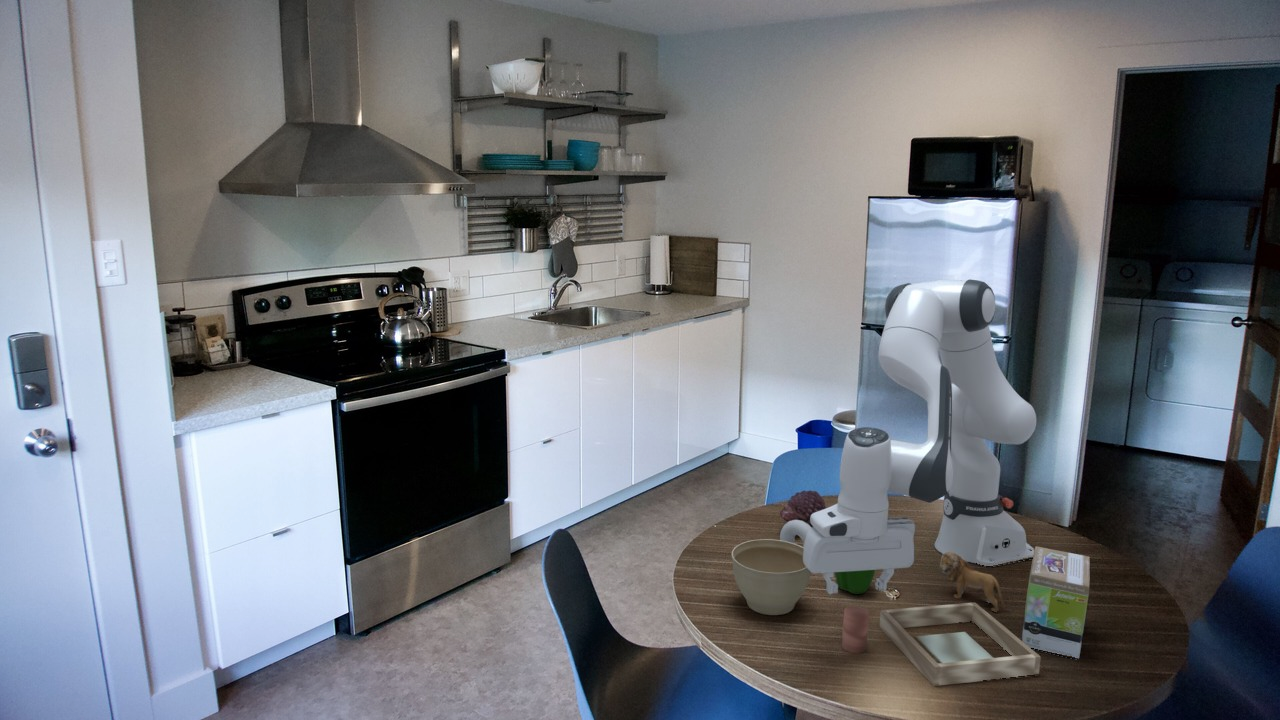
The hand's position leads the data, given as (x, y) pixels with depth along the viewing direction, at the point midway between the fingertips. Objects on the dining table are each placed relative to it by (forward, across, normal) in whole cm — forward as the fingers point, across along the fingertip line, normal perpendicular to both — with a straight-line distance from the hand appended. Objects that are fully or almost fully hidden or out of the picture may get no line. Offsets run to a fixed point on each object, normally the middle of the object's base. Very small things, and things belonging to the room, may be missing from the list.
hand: (856, 591), depth 152 cm
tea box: (+11, -40, +2) cm, 41 cm away
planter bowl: (+11, +10, -18) cm, 23 cm away
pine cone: (+11, -12, -54) cm, 57 cm away
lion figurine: (+11, -32, -13) cm, 36 cm away
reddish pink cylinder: (+11, 0, 0) cm, 11 cm away
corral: (+11, -18, +4) cm, 22 cm away
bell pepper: (+11, -10, -22) cm, 27 cm away
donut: (+11, -3, -36) cm, 38 cm away
